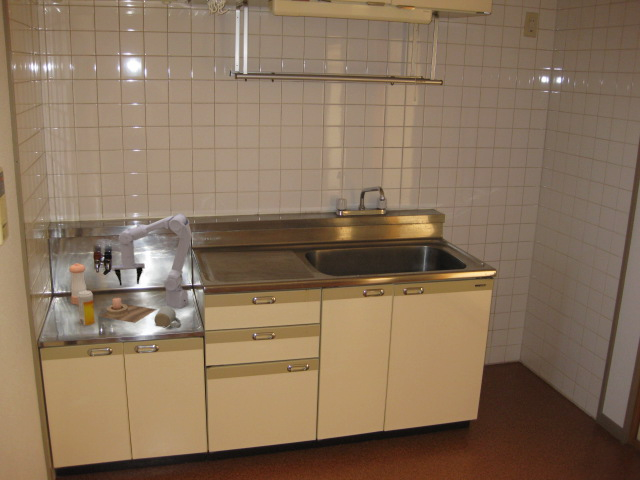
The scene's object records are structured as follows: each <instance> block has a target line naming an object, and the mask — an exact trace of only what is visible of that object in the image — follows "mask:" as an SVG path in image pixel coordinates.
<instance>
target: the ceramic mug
mask: <svg viewBox="0 0 640 480" xmlns="http://www.w3.org/2000/svg"><path fill="white" fill-rule="evenodd" d="M153 319H154V324H155V325H156V326H158V327H163V329H165V328H167V327H169V326H171V327H173V328H179V327H180V326H181V323H182V322H181V320H180V319H179V318H178V317H177V313H176V311H175V309H174V307H169V306H167V305H164V306H161V307H160V308H159V310H158V311H157V313H156V314H155V316H154V318H153ZM174 321H175V322H176V323H177V324H176V323H173V322H174Z"/></svg>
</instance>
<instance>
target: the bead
mask: <svg viewBox="0 0 640 480" xmlns="http://www.w3.org/2000/svg"><path fill="white" fill-rule="evenodd" d="M124 304H125V303H121V307H122V309H120V310H113V304H111V305H109V306H106V310H105V312H107V316H108V317H111V318H119V317H124V316H126V315H127V314H128V307H127V305H124Z"/></svg>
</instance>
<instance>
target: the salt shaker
mask: <svg viewBox="0 0 640 480" xmlns="http://www.w3.org/2000/svg"><path fill="white" fill-rule="evenodd" d="M68 268H69V269H68V270H69V272H70V274H71V285H70V286H71V288H70V289H71V297H70V301H71V304H72V305H76V306H79V305H78V294H79V292H80V291H85V290H87V285H86V282H85V274H84V273H85V270H86V267H85V265H84V264H80V263H79V262H76V263H74V264H72V265H70V267H68Z"/></svg>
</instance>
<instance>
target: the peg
mask: <svg viewBox="0 0 640 480" xmlns="http://www.w3.org/2000/svg"><path fill="white" fill-rule="evenodd" d="M121 304H122V298H121V297H115V298H112V305H113V310H120V309H122V307H121Z"/></svg>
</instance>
